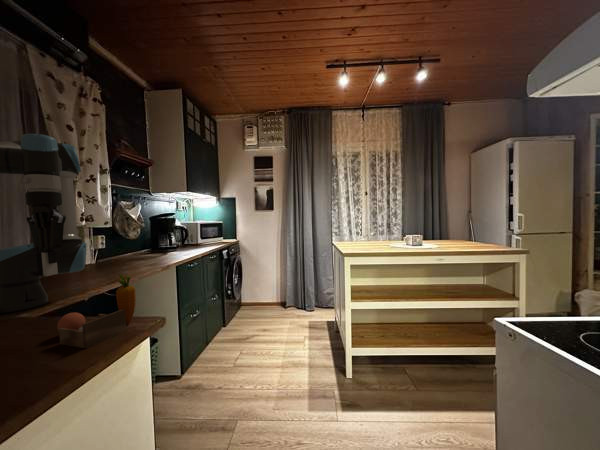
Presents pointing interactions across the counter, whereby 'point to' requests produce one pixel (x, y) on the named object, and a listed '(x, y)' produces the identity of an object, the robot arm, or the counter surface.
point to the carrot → (126, 298)
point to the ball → (71, 321)
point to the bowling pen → (95, 330)
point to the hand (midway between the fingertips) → (50, 274)
